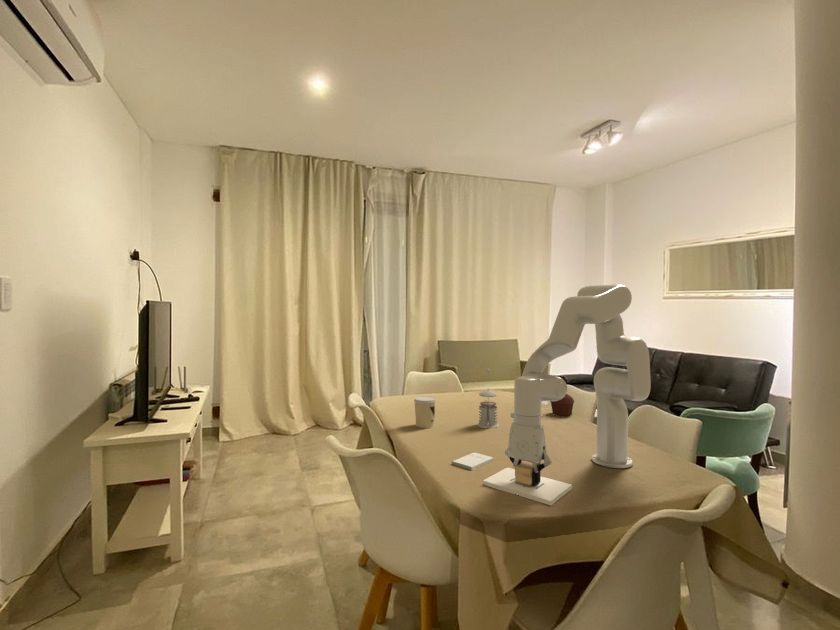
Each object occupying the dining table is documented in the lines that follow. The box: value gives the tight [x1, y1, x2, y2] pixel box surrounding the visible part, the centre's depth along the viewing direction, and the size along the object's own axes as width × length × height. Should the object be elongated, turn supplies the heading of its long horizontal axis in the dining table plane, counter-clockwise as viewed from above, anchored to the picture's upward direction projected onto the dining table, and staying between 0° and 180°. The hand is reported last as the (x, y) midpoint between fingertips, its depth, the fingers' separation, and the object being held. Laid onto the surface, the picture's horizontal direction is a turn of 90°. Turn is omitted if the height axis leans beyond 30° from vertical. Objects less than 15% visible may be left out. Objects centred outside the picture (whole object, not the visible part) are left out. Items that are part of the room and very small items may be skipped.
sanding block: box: [514, 461, 534, 488], centre depth 128 cm, size 6×4×5 cm
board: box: [482, 467, 573, 506], centre depth 128 cm, size 14×21×1 cm, turn 49°
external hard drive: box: [451, 452, 494, 471], centre depth 148 cm, size 2×8×12 cm
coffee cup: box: [413, 396, 437, 429], centre depth 194 cm, size 9×9×12 cm
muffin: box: [549, 393, 576, 417], centre depth 214 cm, size 12×11×10 cm
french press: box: [476, 368, 500, 429], centre depth 193 cm, size 10×12×25 cm
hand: (527, 481), depth 128 cm, fingers closed on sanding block, 4 cm apart
